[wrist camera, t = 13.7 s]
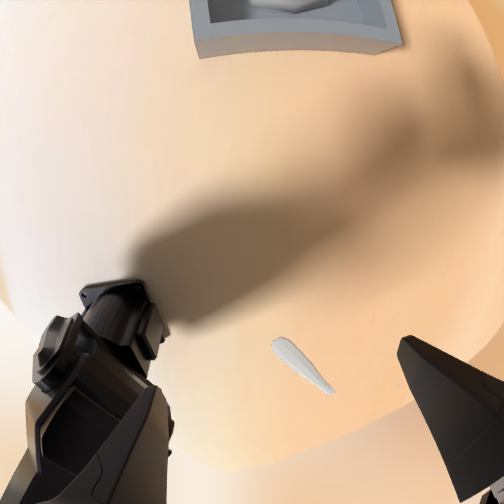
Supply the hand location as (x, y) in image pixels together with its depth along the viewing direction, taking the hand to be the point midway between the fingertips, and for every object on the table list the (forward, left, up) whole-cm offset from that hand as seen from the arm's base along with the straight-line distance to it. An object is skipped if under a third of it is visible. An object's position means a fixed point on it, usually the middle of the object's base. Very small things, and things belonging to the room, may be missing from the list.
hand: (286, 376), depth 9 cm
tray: (+5, +20, -13) cm, 24 cm away
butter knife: (+8, -22, -14) cm, 27 cm away
